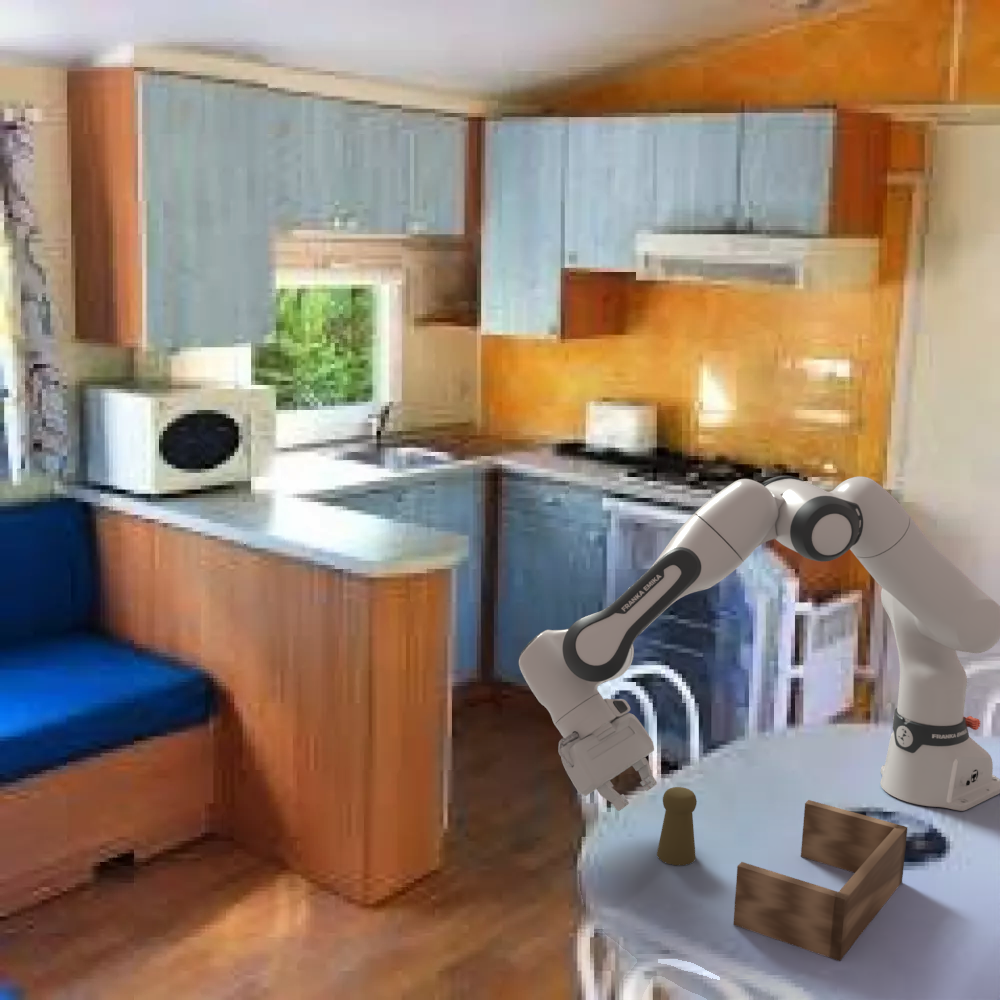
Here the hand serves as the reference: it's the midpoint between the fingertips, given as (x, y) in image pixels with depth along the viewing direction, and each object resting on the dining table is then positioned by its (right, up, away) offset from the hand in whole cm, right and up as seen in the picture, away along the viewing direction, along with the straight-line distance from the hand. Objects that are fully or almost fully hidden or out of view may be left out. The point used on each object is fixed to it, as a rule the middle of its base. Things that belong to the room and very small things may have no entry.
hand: (638, 797), depth 203 cm
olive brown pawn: (+6, -9, -2) cm, 11 cm away
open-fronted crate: (+25, -12, -15) cm, 32 cm away
